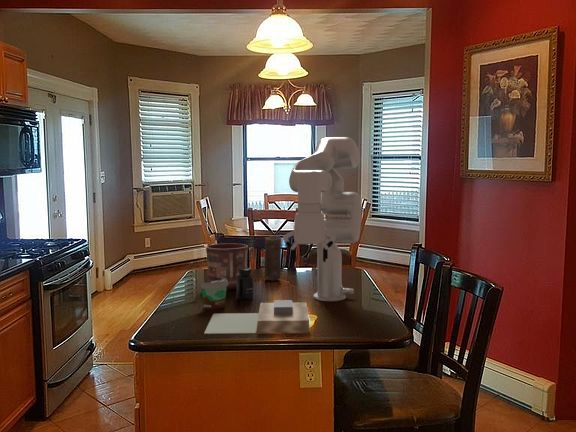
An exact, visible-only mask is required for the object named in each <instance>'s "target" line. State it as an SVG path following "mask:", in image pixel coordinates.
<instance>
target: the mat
mask: <svg viewBox="0 0 576 432" xmlns="http://www.w3.org/2000/svg"><path fill="white" fill-rule="evenodd" d="M258 315H259V312H253V313H252V312H249V313H248V312H247V313H246V312H244V313H243V312H242V313H240V312H238V313H237V312H236V313H231V312H230V313H229V312H228V313H213V314H212V316H211V318H210V320H209V321H208V324H207V326H206V329H205V330H204V333H203V334H204V335H235V334H236V335H239V334H241V335H243V334H246V335H247V334H249V335H252V334H253V335H255V334H257V331H258V329H257V320H258Z"/></svg>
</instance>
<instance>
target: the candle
mask: <svg viewBox="0 0 576 432" xmlns="http://www.w3.org/2000/svg"><path fill="white" fill-rule="evenodd" d="M281 239H282V238H281V236H277V235H275V236H274V235H270V236H267V237H264V273H263V274H264V276H263V277H264V278H263V279H264V281H269V282H275V281H278V280H280V279H281V275H282V274H281V272H282V271H281V258H282V257H281V255H282V253H281V250H282V249H281V248H282V246H281V245H282V243H281V242H282V241H281Z"/></svg>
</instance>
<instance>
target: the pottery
mask: <svg viewBox="0 0 576 432" xmlns="http://www.w3.org/2000/svg"><path fill="white" fill-rule="evenodd" d="M205 248H206V249H205V251H206V260H207V261H206V263H207V280H208V283H209V282H211V281H217V280H220V279H221V277H225V278H226V279H227V281H228V286H227V287H226V291H232V290H233V291H234V290H236V278H237V276H238V275H240V274H239V269H240V268H248V253H249V245H247V244H245V243H234V242H233V243H232V242H230V243H227V242H226V243H225V242H224V243H214V244H209V245H207V246H205Z"/></svg>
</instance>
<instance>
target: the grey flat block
mask: <svg viewBox="0 0 576 432" xmlns="http://www.w3.org/2000/svg"><path fill="white" fill-rule="evenodd" d="M273 303H274V315H293V305H292V303H293V300H292V299H291V300H290V299H288V300H287V299H285V300H284V299H279V300H277V299H274V300H273Z"/></svg>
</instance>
